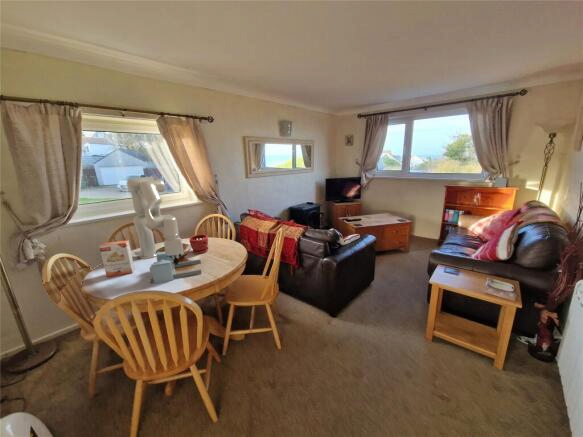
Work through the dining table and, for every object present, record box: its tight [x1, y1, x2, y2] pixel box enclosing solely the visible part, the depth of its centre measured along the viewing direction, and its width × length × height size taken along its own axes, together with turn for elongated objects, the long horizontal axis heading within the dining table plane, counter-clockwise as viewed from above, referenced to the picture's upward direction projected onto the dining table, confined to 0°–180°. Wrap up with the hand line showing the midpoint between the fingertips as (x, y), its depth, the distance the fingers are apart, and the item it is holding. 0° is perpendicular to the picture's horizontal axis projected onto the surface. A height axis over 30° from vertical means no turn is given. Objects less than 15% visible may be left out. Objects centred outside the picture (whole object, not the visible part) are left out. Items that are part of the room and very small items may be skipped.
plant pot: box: [189, 234, 209, 254], centre depth 180 cm, size 13×13×12 cm
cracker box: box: [98, 240, 135, 278], centre depth 147 cm, size 14×6×21 cm, turn 110°
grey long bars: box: [149, 258, 202, 284], centre depth 150 cm, size 28×17×2 cm, turn 112°
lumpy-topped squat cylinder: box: [149, 260, 176, 278], centre depth 145 cm, size 10×13×9 cm
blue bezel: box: [150, 250, 174, 284], centre depth 146 cm, size 10×21×12 cm, turn 22°
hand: (176, 263), depth 148 cm, fingers closed
